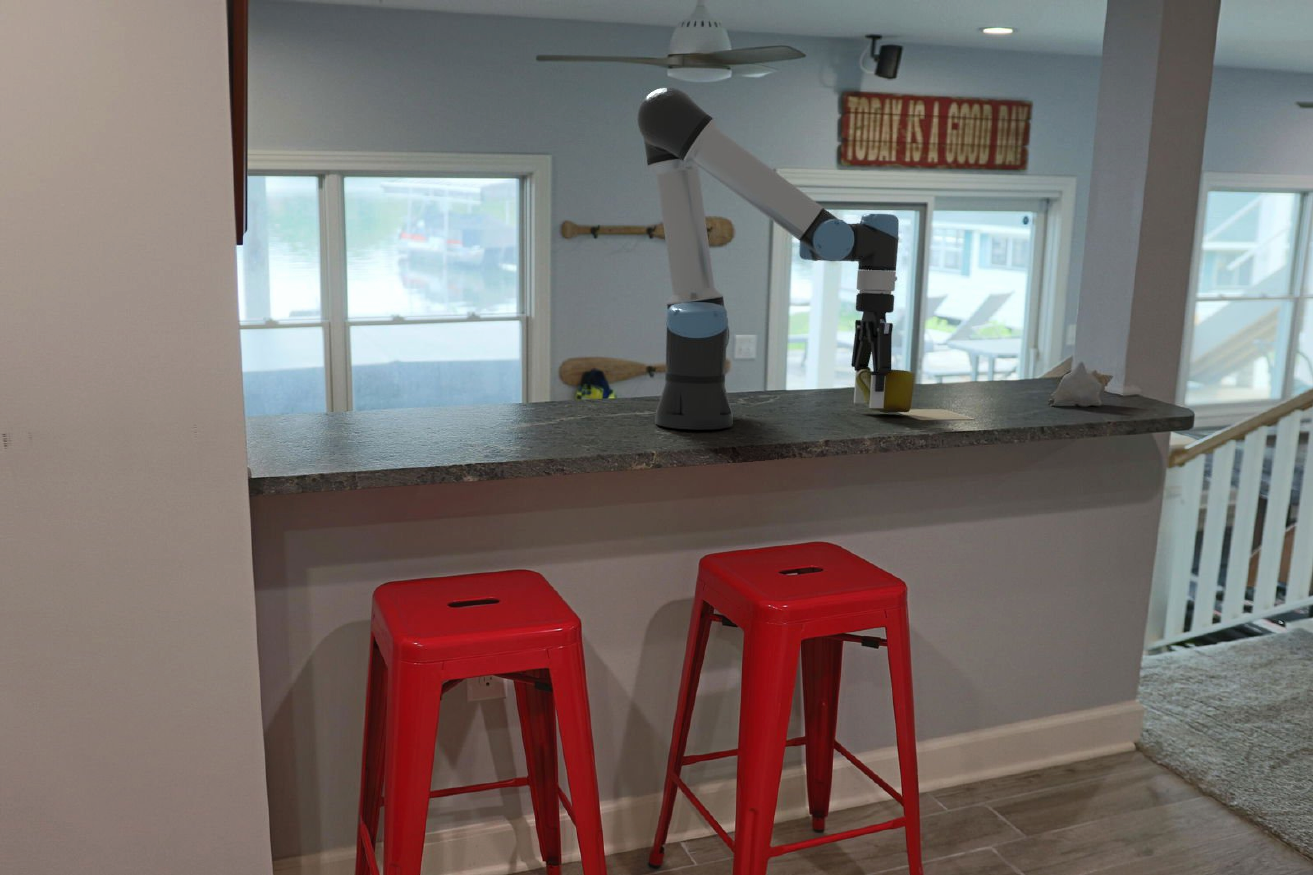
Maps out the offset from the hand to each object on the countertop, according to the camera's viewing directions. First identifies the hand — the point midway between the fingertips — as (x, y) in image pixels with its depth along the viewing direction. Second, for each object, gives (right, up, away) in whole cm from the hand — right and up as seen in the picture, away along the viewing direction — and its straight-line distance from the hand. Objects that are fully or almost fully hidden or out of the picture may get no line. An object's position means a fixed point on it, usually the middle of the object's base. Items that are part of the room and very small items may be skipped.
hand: (868, 405), depth 225 cm
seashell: (+47, -2, +21) cm, 51 cm away
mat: (+14, -2, +4) cm, 15 cm away
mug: (+3, -2, +2) cm, 4 cm away
